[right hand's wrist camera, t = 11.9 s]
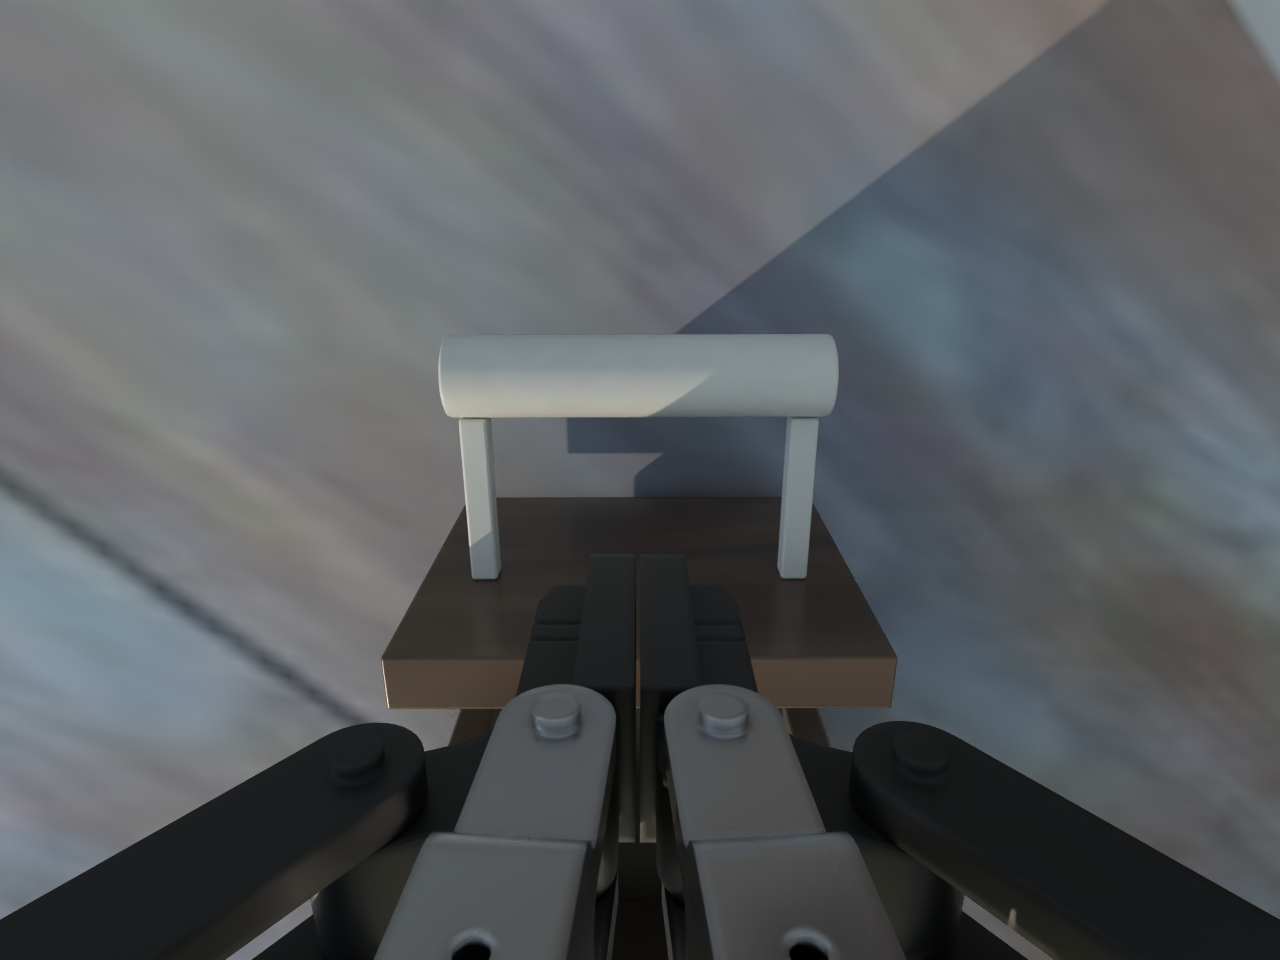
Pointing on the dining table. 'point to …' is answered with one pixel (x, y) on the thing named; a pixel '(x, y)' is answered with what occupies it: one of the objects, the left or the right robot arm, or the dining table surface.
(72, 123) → the dining table surface
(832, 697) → the drawer
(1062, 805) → the right robot arm
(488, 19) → the dining table surface
